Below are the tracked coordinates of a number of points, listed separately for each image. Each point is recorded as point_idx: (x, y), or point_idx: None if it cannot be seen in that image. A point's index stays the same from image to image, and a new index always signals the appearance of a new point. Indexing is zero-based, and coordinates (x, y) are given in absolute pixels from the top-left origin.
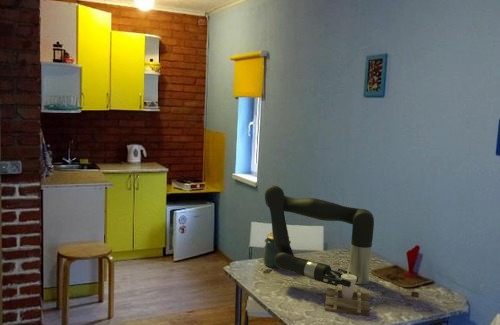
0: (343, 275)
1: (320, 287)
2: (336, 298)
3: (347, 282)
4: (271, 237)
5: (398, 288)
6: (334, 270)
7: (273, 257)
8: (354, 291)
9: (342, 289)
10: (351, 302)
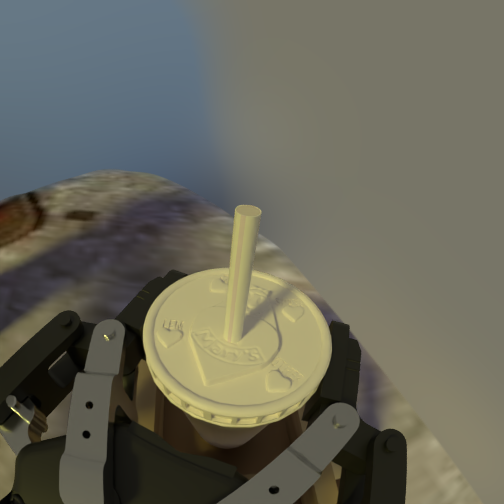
0: (220, 388)
1: None
2: (329, 466)
3: (351, 346)
4: None
5: (39, 238)
6: (78, 498)
7: None
8: (144, 366)
9: (256, 433)
10: None
